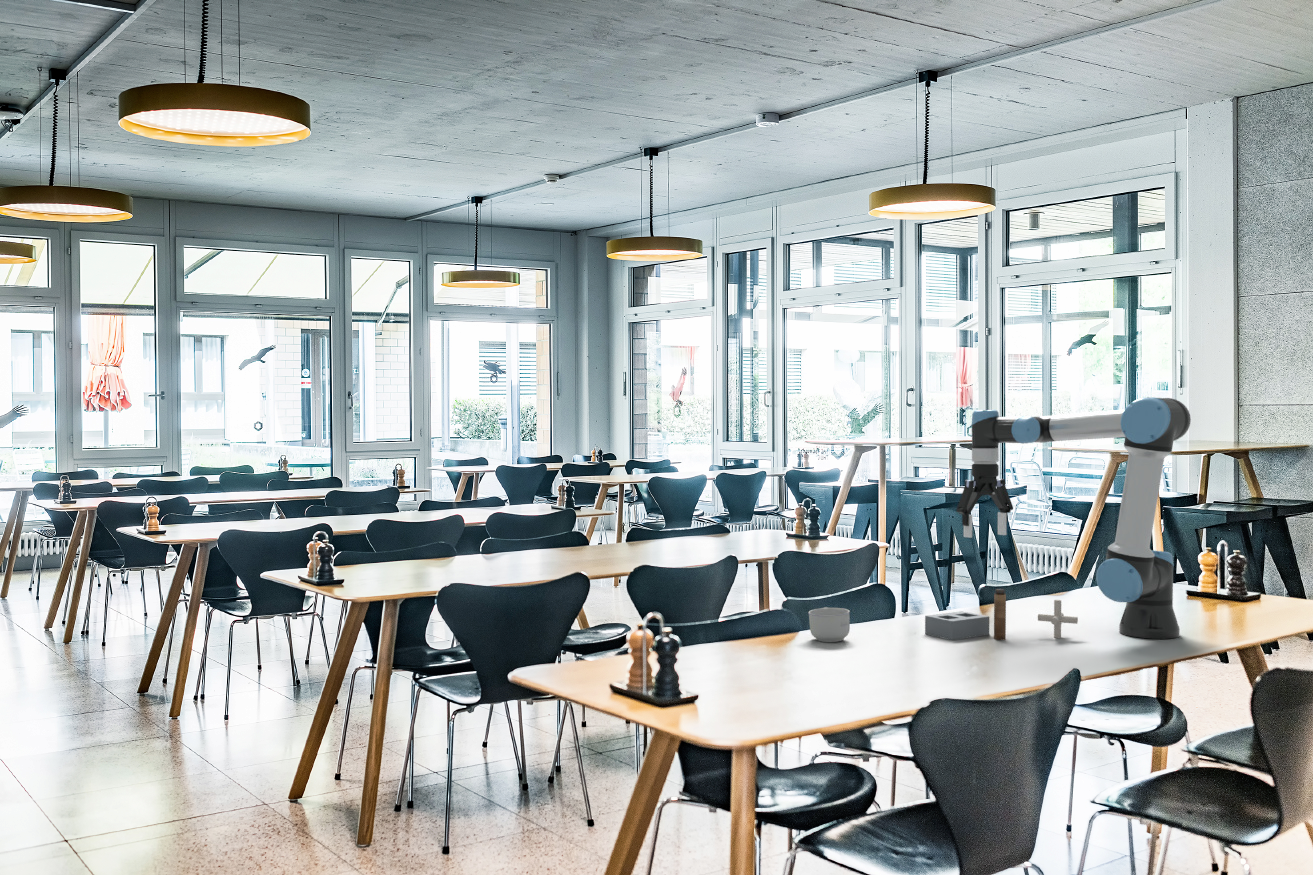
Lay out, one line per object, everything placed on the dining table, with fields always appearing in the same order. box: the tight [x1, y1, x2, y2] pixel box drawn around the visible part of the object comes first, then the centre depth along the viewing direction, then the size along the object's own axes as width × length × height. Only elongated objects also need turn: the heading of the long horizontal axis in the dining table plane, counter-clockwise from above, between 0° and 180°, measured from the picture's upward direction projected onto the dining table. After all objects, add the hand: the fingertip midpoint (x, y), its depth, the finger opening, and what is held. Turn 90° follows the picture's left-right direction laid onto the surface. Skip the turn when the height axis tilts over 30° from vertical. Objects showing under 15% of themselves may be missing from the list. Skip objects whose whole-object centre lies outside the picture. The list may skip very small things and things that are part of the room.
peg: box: [993, 588, 1007, 641], centre depth 312 cm, size 3×3×13 cm
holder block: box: [924, 611, 990, 641], centre depth 318 cm, size 10×14×5 cm
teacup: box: [807, 606, 851, 643], centre depth 311 cm, size 14×11×8 cm
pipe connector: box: [1037, 599, 1079, 639], centre depth 314 cm, size 10×10×10 cm
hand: (985, 536), depth 340 cm, fingers open, 13 cm apart
